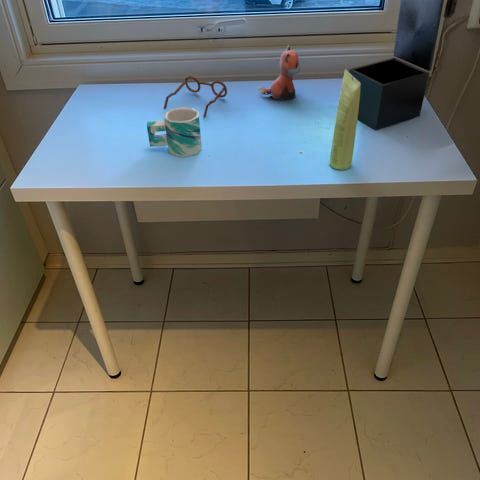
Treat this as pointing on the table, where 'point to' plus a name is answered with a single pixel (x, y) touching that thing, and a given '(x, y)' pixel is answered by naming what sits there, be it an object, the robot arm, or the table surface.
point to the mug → (177, 132)
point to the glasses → (198, 91)
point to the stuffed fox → (284, 77)
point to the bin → (389, 92)
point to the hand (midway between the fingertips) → (434, 13)
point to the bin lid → (418, 31)
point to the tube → (345, 123)
